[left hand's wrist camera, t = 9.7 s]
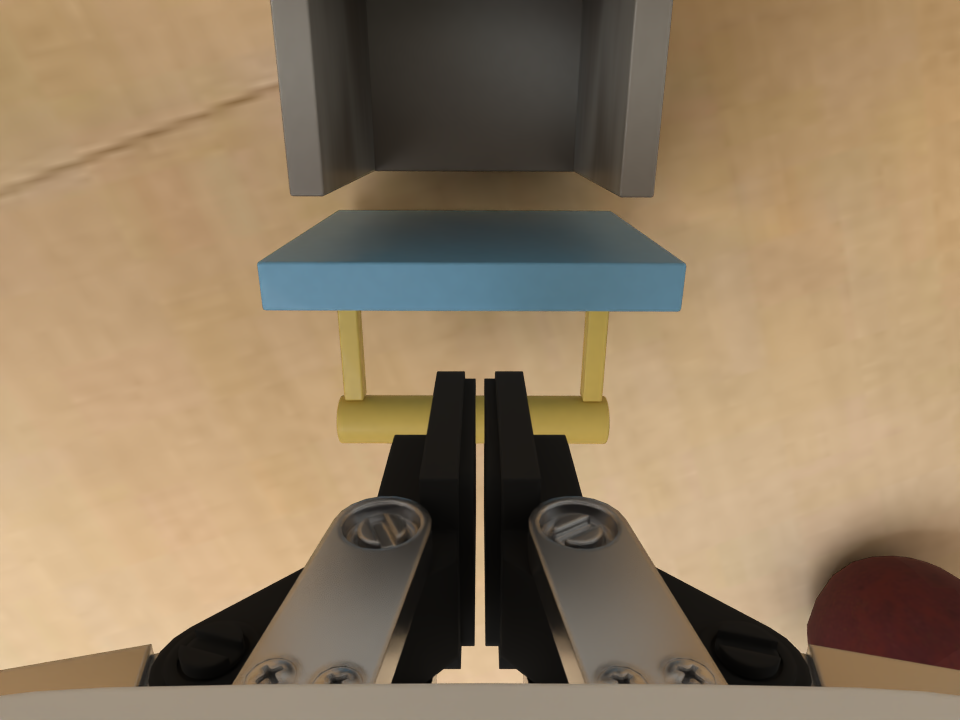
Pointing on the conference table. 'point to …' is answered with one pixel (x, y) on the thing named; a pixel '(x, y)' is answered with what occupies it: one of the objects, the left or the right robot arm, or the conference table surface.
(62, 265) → the conference table surface
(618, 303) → the drawer
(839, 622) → the potato
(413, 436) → the left robot arm
